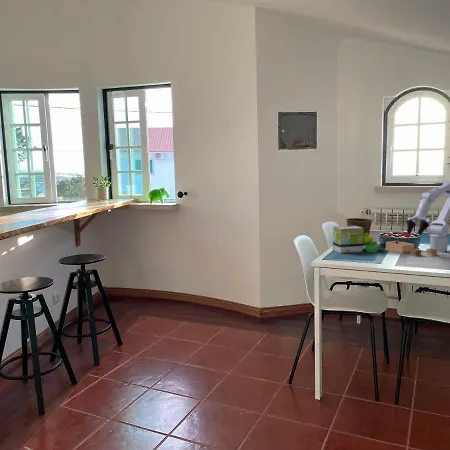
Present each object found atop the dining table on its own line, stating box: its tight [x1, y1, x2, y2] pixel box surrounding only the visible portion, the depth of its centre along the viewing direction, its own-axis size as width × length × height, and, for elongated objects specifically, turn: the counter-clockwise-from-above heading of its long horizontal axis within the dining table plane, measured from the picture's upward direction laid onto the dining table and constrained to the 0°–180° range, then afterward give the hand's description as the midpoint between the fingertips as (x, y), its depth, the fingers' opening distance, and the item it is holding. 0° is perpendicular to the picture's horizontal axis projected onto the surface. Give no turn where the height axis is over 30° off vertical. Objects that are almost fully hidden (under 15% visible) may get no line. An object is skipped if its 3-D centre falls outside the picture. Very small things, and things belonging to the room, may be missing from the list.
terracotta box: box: [385, 240, 415, 255], centre depth 273 cm, size 9×13×5 cm
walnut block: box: [409, 248, 422, 258], centre depth 260 cm, size 4×4×4 cm
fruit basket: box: [363, 233, 380, 253], centre depth 275 cm, size 11×9×11 cm
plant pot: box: [345, 217, 373, 247], centre depth 297 cm, size 16×16×16 cm
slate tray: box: [383, 248, 410, 256], centre depth 273 cm, size 12×17×1 cm
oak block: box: [425, 247, 438, 257], centre depth 261 cm, size 4×4×4 cm
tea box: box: [332, 225, 364, 254], centre depth 277 cm, size 15×10×15 cm
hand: (413, 233), depth 260 cm, fingers open, 7 cm apart
